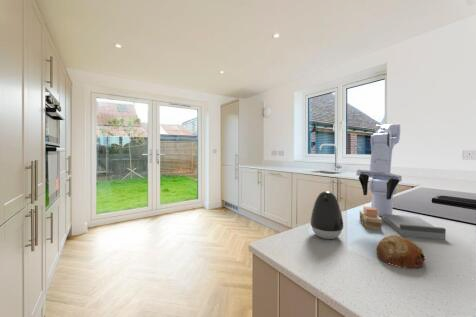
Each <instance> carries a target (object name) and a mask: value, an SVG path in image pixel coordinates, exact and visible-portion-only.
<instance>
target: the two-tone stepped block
mask: <svg viewBox="0 0 476 317" xmlns="http://www.w3.org/2000/svg"><path fill="white" fill-rule="evenodd" d="M360 221H361V222H360ZM382 221H383V218H382V217H381V216H378V215H377V216H366V215H365V214H364V213H363V210H359V222H360V223H361V225H363V226H365V227H364V228H365V229H368V228H369V229H368V230H382V223H383V222H382Z"/></svg>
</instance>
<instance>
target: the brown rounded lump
mask: <svg viewBox="0 0 476 317" xmlns="http://www.w3.org/2000/svg"><path fill="white" fill-rule="evenodd" d="M375 251H376V255H377V257H378V258H379V260H381V261H382V260H383V261H382V262H384V261H385V262H384V263H386V262H387V263H386V264H388V263H390V264H393V265H397V266H396V267H398V266H401V267H400V268H403V267H406V268H405V269H409V268H414V269H419V268H422V267H423V265H424V263H425V261H426V256H425V254H424V252H423V251H422V248H421V247H419V246H418V244H416V243H414V242H412V241H411V240H409V239H407V238H405V237H404V236H401V235H400V236H399V235H397V234H391V235H387V236H384V237H382V238H381V240H380V241H378V244H377V245H376V250H375ZM390 264H389V265H390ZM393 265H392V266H393Z"/></svg>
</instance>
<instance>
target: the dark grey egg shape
mask: <svg viewBox="0 0 476 317" xmlns="http://www.w3.org/2000/svg"><path fill="white" fill-rule="evenodd" d="M340 206H341V205H340V204H339V202H338V199H337V197H336V196H335V194H333V192H331V191H324V190H323V191H322V192H320V193H319V194H318V195H317V197H316V199H315V201H314V204H313V207H312V211H311V216H310V227H311V229H312V231H313V233H314V234H315V235H316V236H317V237H319V238H322V239H325V240H333V239H336V238H338V237H339V236H340V235H341V234H342V232H343V231H342V230H343V229H344V220H343V214H342V211H341V207H340Z"/></svg>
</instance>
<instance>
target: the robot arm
mask: <svg viewBox="0 0 476 317" xmlns="http://www.w3.org/2000/svg"><path fill="white" fill-rule="evenodd" d="M400 136H401V124H400V123H399V122H398V123H388V124H376V125H375V127H374V133H373V134H371V135H370V151H371V153H370V165H369V170H367V169H357V170H356V176H358V180H359V183H360V185H361V188H362V194H363V196H367V195H368V189H369V191H370V193H372V196H371V205H370V207H374V208H376V209H377V215H378V216H379V217H383V214H388V215H395V214H394V213H393V209H394V208H393V207H394V206H393V205H394V202H393V201H394V195H396V194H397V193H398V184H399V183H400V182H402V181H403V180H402V177H403V176H402V175H398V174H394V173H391V170H392V169H391V167H392V156H393V149H394V146H395V145H397V144H399V142H400V140H401V139H400V138H401V137H400ZM369 179H370V180H369ZM368 186H369V188H368Z"/></svg>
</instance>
